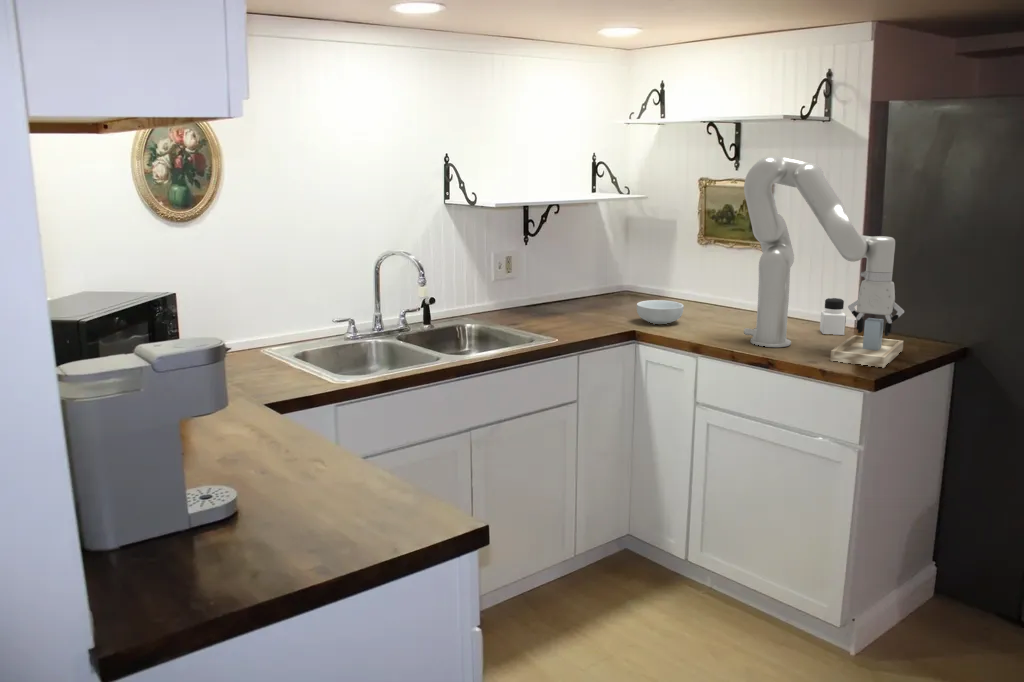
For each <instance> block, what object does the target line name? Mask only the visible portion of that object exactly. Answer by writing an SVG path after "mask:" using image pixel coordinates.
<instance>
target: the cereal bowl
mask: <svg viewBox="0 0 1024 682" xmlns="http://www.w3.org/2000/svg"><path fill="white" fill-rule="evenodd" d="M636 313H637V315H638V317H640V318H641V319H642V320H644V321H646V322H648V323H649V322H650V323H654V324H653V325H655V324H667V323H670V324H671V323H672V322H675V321H678V320H679V319H681V317H682V316H683V313H684V304H683V303H681V302H677V301H673V300H664V299H659V300H658V299H653V300H652V299H651V300H649V299H647V300H643V301H639V302H637V303H636ZM650 323H649V324H650ZM667 325H668V324H667Z"/></svg>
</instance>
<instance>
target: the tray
mask: <svg viewBox="0 0 1024 682" xmlns="http://www.w3.org/2000/svg"><path fill="white" fill-rule="evenodd" d="M863 338H864V335H863V336H862V335H857V334H855V335H852V336H850V337H848V338H846V340H844V341H843V342H841V343H840V344H838V345H837V346H836V347H834V348H833V349H831V350H830V360H829V361H830V362H833V361H838V362H837V363H840V362H843V363H842V364H848V363H851V364H850V365H855V364H861V365H860V366H863V365H868V366H867V367H871V366H875V367H874V368H878V367H882V368H881V369H885V367H886V365H887V364H888V363H889V364H890V363H891V362H893V360H894V359H896V357H897V356H898V355H900V354H901V353H902V352H903V349H904V340H901V339H890V338H889V339H888V338H883V337H882V345H881V348H880V349H879V350H869V349H863ZM900 352H901V353H900ZM899 353H900V354H899ZM889 364H888V365H889ZM888 365H887V366H888Z"/></svg>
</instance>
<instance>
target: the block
mask: <svg viewBox="0 0 1024 682" xmlns="http://www.w3.org/2000/svg"><path fill="white" fill-rule="evenodd" d="M884 323H885V319H883V318H875V317H874V318H872V317H868V318H865V320H864V326H863V336H864V338H863V349H869V350H879V349H880V348H881V345H882V338H883V331H884Z"/></svg>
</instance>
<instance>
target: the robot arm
mask: <svg viewBox="0 0 1024 682" xmlns="http://www.w3.org/2000/svg"><path fill="white" fill-rule="evenodd" d="M774 184H777V185H782V186H786V187H791V188H796V189H797V190H798V192H799V193H800V195H801V196H802V198H803V199H804V201H805V202H806V204H807V205H808V206H809V208H810V209H811V211H812V213H813V214H814V216H815V218H816V219H817V221H818V223H819V224H820V225H821V227H822V228H823V230H824V232H825V233H826V235H827V236H828V237H829V240H830V241H831V242H832V243H831V244H833V245H834V247H835V248H836V250H837V251H838V253H839V255H840V256H841V257H842V258H843V259H844V260H845V261H848V262H853V263H854V262H858V261H860V260H862V259H863V258H866V265H865V270H864V271H861V272H860V277H863V278H864V280H861V284H860V287H859V292H858V299H857V300H855V301H854V302H853V303H851V304H849V305H847V307H848V310H849V311H850V312H851V314H852V316H854V317H855V320H856V330H857V333H858V334H861V333H862V332H864V324H865V320H864V316H865V314H866V315H867V314H868V315H875V316H884V318H885V320H886V323H885V328H884V336H885V337H888V336H889V335H890V334H891V333H892V329H893V323H894V322H895V321H896V320H897V319H898V318H900V317H902V316H903V314H904V313H905V310H904V309H903V308H902V307H901V306H900V305H899V304H898V303H896V302H895V301H896V295H895V293H896V290H895V283H894V281H893V274H894V273H893V272H894V261H895V251H896V239H895V238H894V237H892V236H886V235H885V236H882V235H879V236H878V235H877V236H876V235H875V236H869V235H863V234H859V232H858V230H856V228H855V227H854V224H852V222H851V220H850V218H849V217H848V215H847V211H846V210H845V206H844V203H843V202H842V199H841V198H840V196H838V194H837V193H836V191H835V190H834V188H833V187H832V185H831V184H830V182H829V181H828V179H827V177H826V176H825V175H824V171H823V168H822V167H821V166H819V164H817V163H814V162H807V161H802V160H797V159H792V158H787V157H783V156H779V155H767V156H765V157H762V158H761V159H759V160H757V162H755V163H754V164H753V165H752V167H751V168H750V169H749V170H748V172H747V174H746V176H745V179H744V185H743V192H744V198H745V202H746V206H747V211H748V215H749V216H748V217H749V220H750V223H751V228H752V235H754V238H755V239H756V240H757V241H758V242H759V244H760V248H761V251H762V254H761V255H760V257H759V258H760V259H759V261H758V286H757V287H758V288H757V289H758V291H757V309H756V310H757V311H756V327H755V328H753V329H752V328H748V327H747V328H746V327H745V328H744V329H743V334H744V335H745V336H751V338H750V343H751V344H752V345H754V344H755V345H754V346H758V345H759V347H763V346H765V347H764V348H785V347H789V346H791V344H792V341H791V340H790V339H788V338H787V333H788V332H787V330H788V316H789V315H788V314H789V303H790V302H789V300H790V299H789V298H790V277H791V268H792V266H793V264H794V262H795V254H794V250H793V249H794V248H793V244H792V242H791V238H790V234H789V229H788V225H787V223H786V220H785V219H784V217H783V216H782V215H780V214H779V212H778V210H777V205H776V201H775V197H774V194H773V185H774ZM855 307H856V308H855ZM894 311H896V314H894V316H893V315H892V313H894Z"/></svg>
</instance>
